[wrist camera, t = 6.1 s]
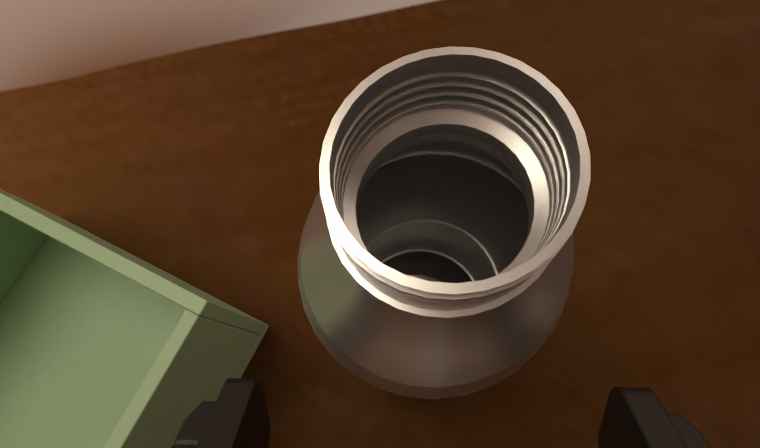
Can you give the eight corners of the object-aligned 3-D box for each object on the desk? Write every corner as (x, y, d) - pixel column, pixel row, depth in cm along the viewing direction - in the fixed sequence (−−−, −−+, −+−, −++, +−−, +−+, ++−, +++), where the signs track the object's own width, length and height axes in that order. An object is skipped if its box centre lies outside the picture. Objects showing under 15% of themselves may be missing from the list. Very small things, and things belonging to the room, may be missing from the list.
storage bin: (60, 217, 28) (-80, 150, 20) (269, 326, 26) (207, 300, 18) (-125, 477, 24) (-391, 526, 16) (101, 634, 22) (-78, 785, 14)
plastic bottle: (326, 327, 26) (106, 174, 7) (415, 239, 27) (446, -103, 8) (414, 421, 24) (460, 574, 5) (505, 322, 25) (816, 147, 6)
